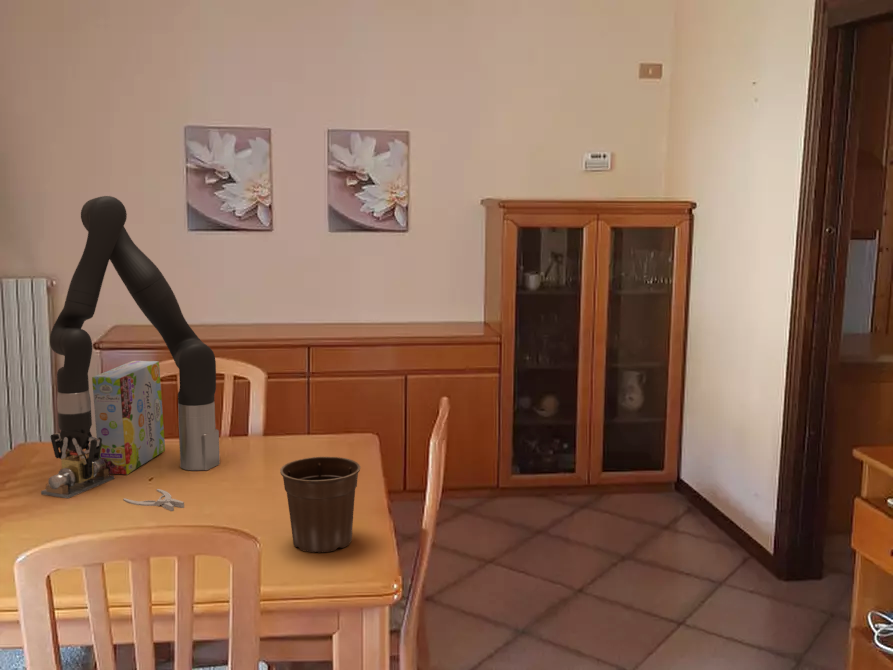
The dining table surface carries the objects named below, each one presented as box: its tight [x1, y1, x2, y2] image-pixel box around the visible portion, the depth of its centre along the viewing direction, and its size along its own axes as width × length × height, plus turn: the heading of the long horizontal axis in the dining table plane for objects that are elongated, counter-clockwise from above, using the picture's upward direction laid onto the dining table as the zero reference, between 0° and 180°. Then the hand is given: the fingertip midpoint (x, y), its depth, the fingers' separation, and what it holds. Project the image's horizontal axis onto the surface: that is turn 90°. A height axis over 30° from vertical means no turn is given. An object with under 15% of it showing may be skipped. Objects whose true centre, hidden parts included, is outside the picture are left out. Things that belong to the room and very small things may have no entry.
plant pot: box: [280, 456, 361, 553], centre depth 190 cm, size 16×16×16 cm
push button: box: [60, 449, 94, 483], centre depth 225 cm, size 5×5×7 cm
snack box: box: [91, 360, 166, 476], centre depth 243 cm, size 22×9×26 cm, turn 171°
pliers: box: [123, 488, 185, 512], centre depth 215 cm, size 10×2×15 cm
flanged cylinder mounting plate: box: [40, 458, 115, 499], centre depth 225 cm, size 16×8×6 cm, turn 160°
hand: (78, 476), depth 225 cm, fingers closed on push button, 5 cm apart
